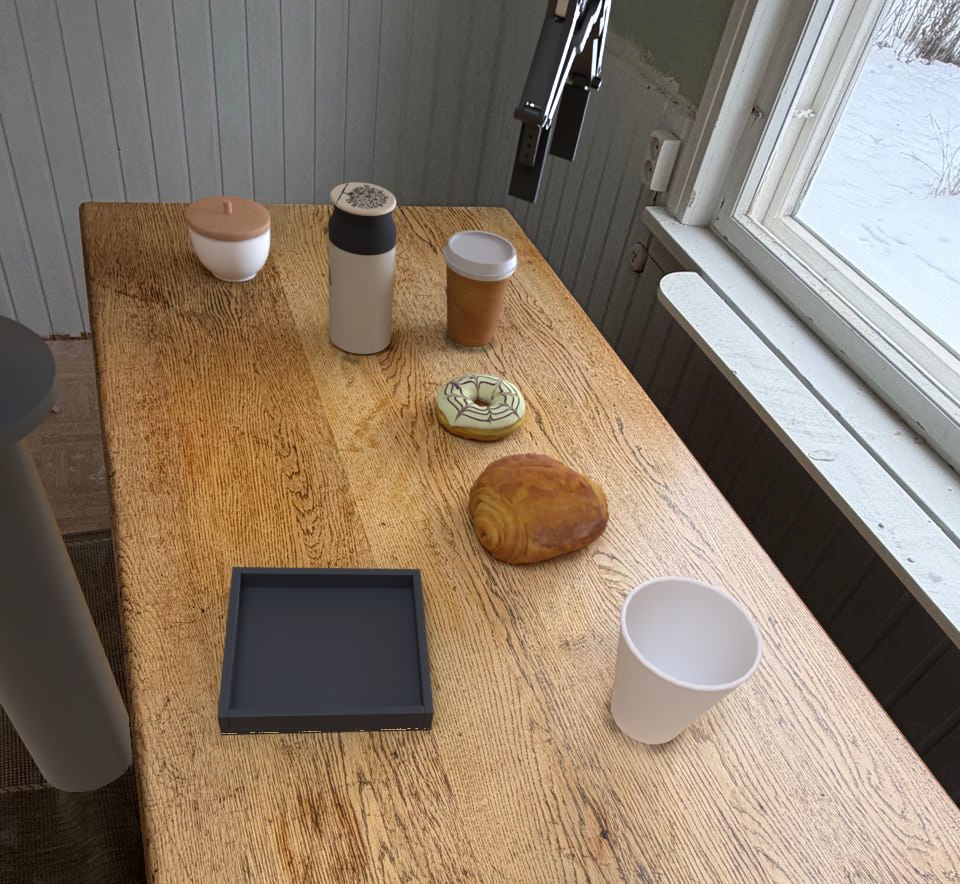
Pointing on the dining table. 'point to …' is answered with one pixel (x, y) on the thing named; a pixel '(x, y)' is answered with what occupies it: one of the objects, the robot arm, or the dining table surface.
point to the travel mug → (361, 267)
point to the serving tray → (325, 651)
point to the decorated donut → (480, 407)
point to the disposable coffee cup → (476, 284)
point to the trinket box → (229, 236)
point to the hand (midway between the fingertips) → (542, 176)
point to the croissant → (535, 508)
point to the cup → (679, 656)
